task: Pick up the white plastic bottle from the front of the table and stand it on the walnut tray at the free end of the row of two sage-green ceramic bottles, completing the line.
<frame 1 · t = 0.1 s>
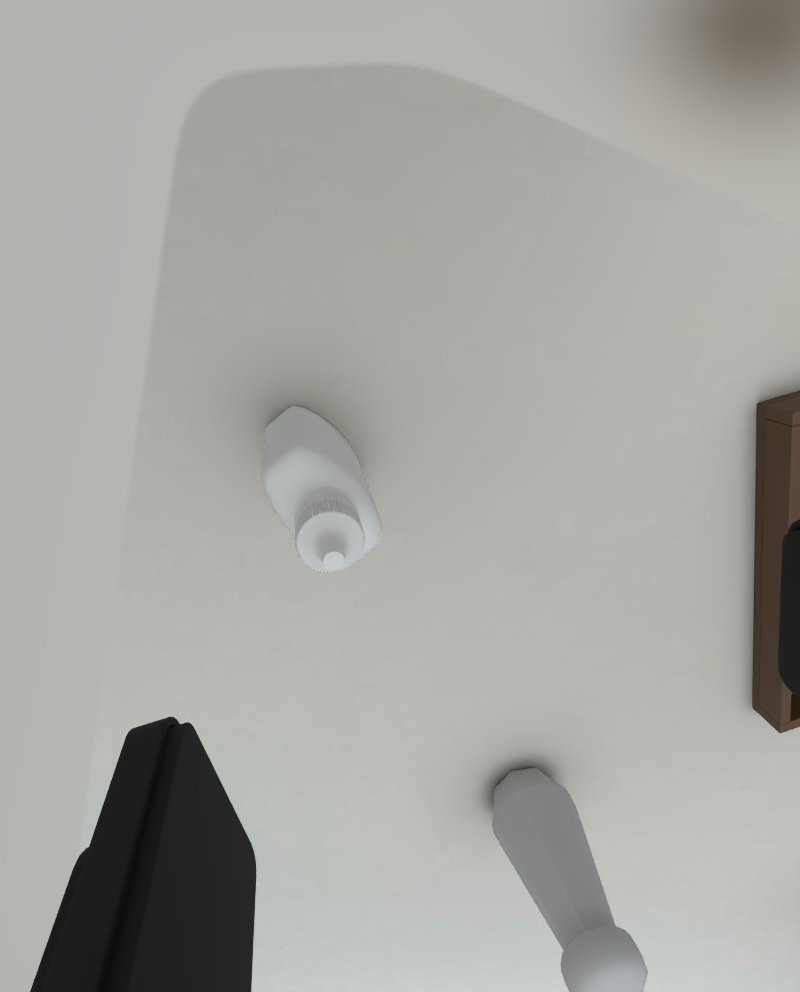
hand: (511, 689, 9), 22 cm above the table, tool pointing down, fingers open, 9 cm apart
salt shaker: (520, 787, 42), on the table
white plastic bottle: (315, 453, 30), on the table
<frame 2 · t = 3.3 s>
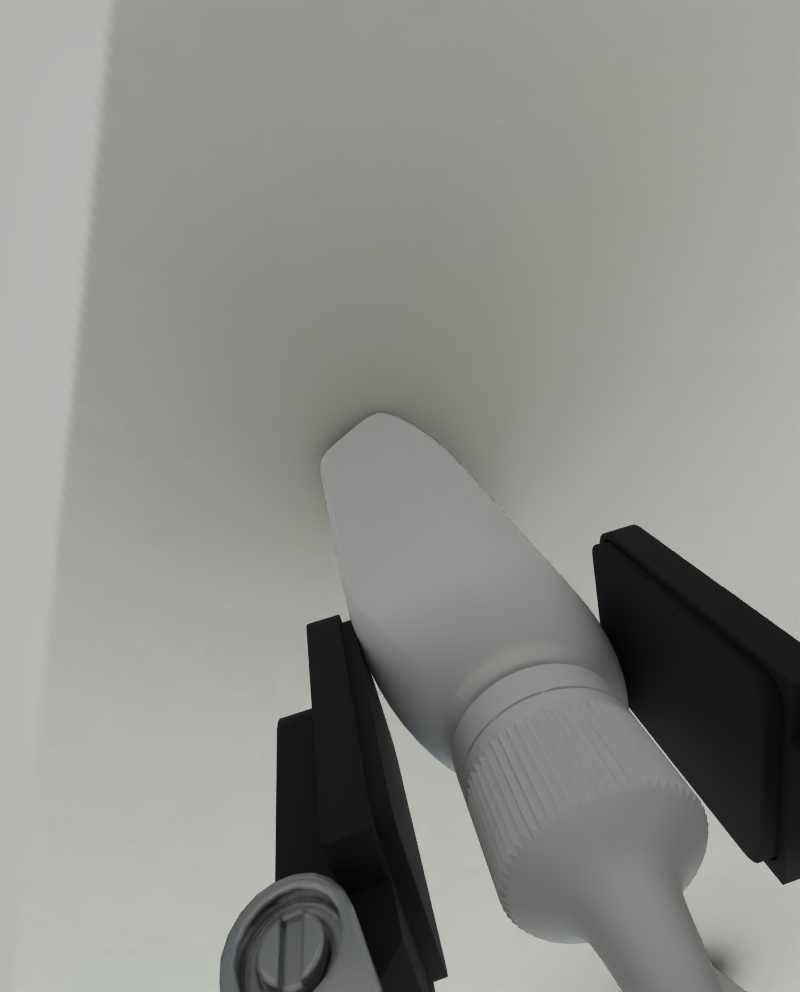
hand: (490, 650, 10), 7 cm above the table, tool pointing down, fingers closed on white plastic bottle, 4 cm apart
salt shaker: (679, 985, 28), on the table
white plastic bottle: (408, 501, 16), on the table, touching gripper
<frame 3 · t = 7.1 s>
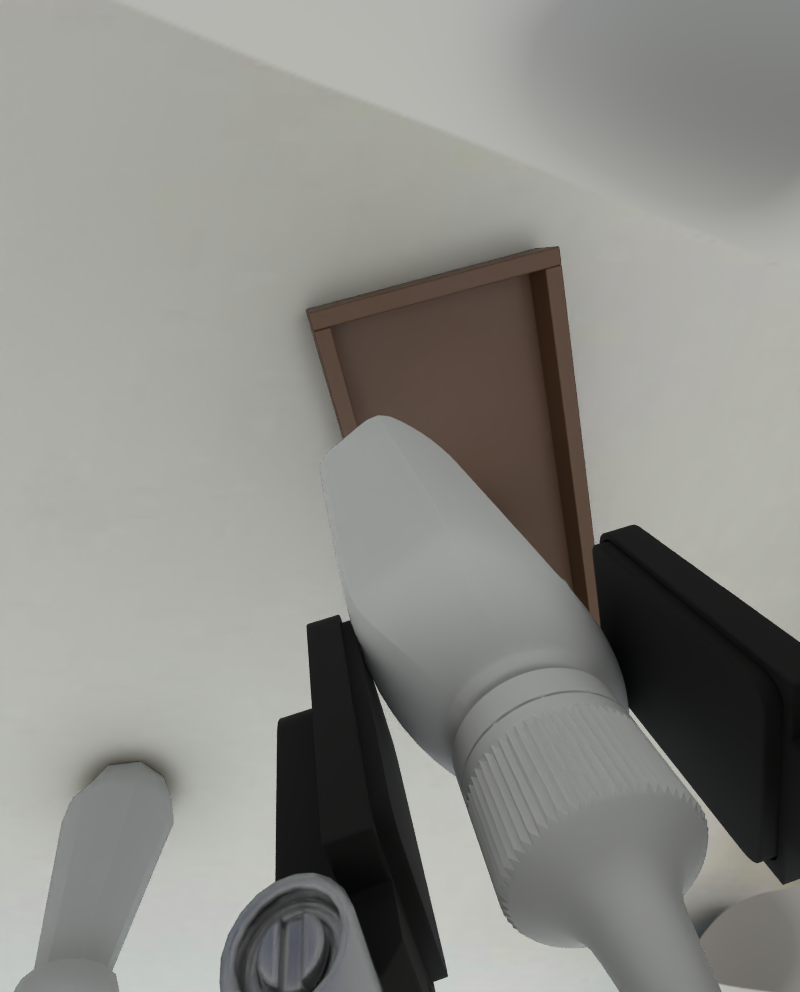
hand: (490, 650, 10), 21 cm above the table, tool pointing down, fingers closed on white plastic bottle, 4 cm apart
tray: (468, 497, 33), on the table
salt shaker: (130, 785, 35), on the table
white plastic bottle: (409, 503, 16), point 14 cm above the table, touching gripper
when the fingers open (7 cm above the table, at t = 11.0 s): white plastic bottle stays where it is, resting on tray.
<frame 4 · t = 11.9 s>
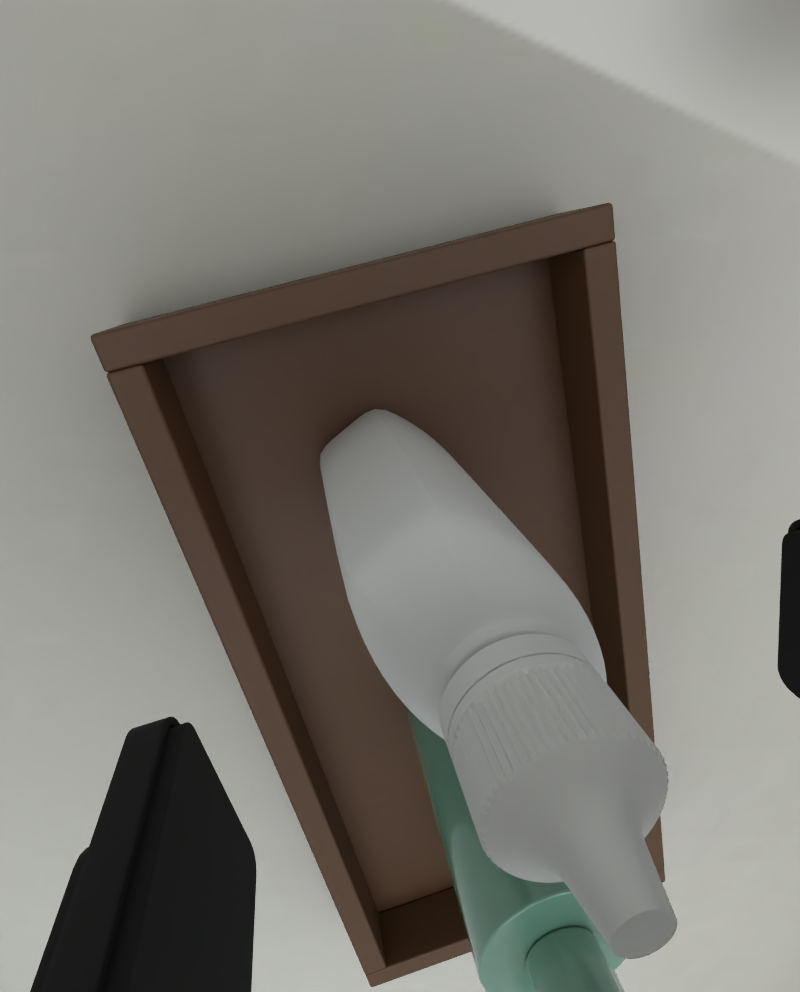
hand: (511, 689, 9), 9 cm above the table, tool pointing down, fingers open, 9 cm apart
tray: (441, 638, 19), on the table
green bottle 1: (457, 696, 20), point 1 cm above the table, touching tray
white plastic bottle: (404, 494, 17), resting on tray
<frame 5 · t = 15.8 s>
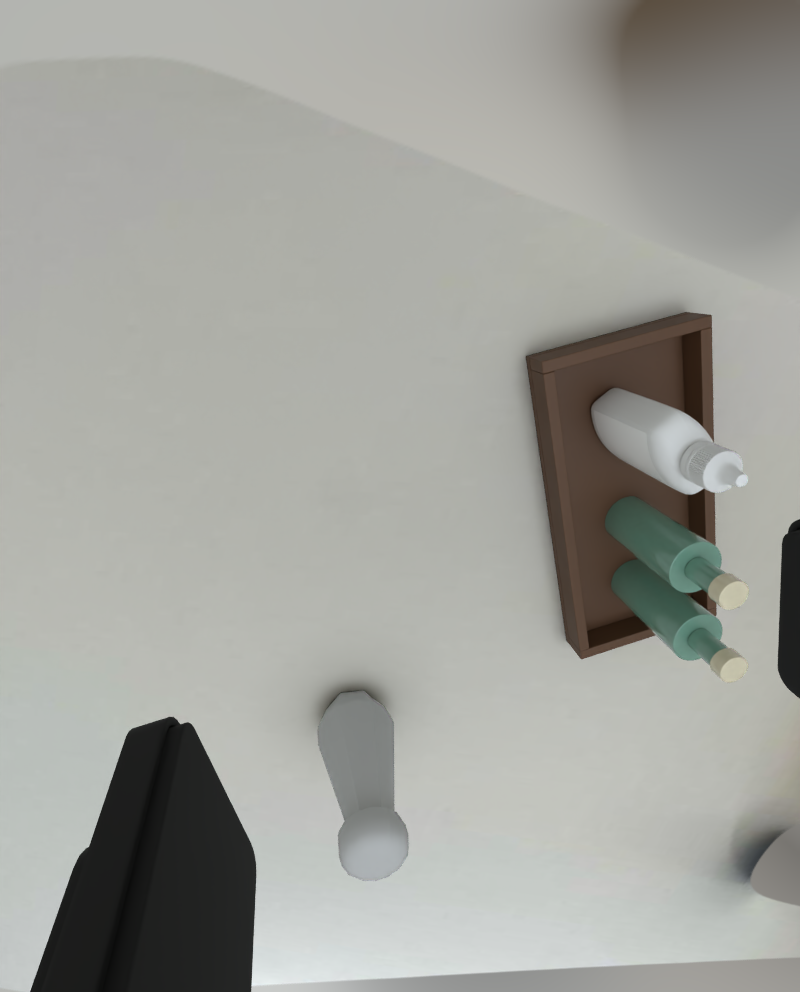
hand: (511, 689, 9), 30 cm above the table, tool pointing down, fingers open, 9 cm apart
tray: (620, 491, 44), on the table
salt shaker: (352, 709, 47), on the table
green bottle 1: (626, 518, 44), point 1 cm above the table, touching tray
green bottle 2: (631, 579, 46), point 1 cm above the table, touching tray
white plastic bottle: (616, 423, 41), resting on tray
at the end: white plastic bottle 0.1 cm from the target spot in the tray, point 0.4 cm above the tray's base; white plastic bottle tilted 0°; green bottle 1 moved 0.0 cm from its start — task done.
